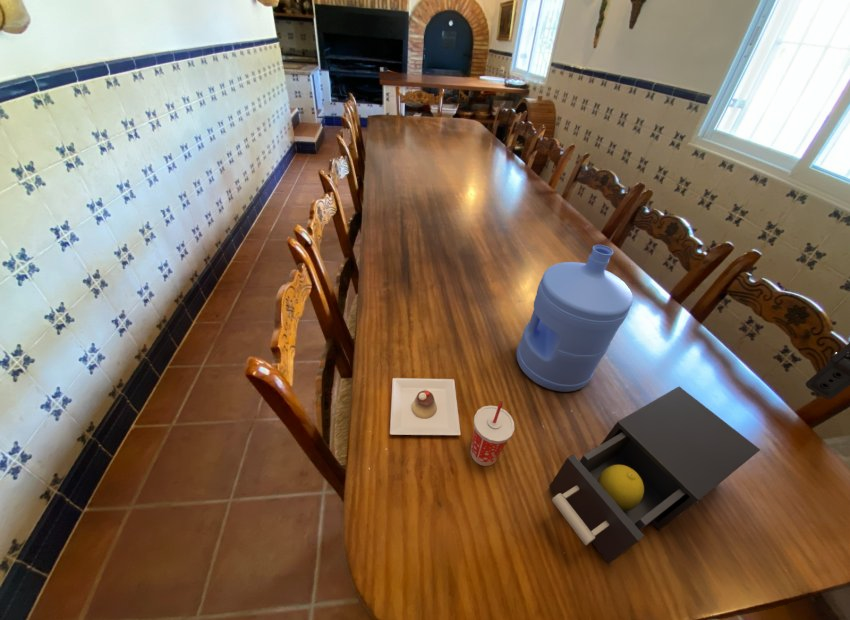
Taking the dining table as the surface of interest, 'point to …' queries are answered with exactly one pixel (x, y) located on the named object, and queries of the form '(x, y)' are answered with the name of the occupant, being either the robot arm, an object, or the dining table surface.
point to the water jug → (573, 322)
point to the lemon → (622, 486)
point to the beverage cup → (490, 433)
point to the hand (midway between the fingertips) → (834, 377)
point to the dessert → (424, 407)
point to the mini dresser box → (597, 510)
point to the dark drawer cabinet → (685, 446)
